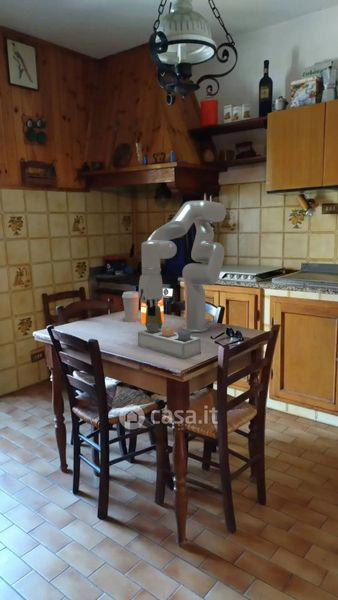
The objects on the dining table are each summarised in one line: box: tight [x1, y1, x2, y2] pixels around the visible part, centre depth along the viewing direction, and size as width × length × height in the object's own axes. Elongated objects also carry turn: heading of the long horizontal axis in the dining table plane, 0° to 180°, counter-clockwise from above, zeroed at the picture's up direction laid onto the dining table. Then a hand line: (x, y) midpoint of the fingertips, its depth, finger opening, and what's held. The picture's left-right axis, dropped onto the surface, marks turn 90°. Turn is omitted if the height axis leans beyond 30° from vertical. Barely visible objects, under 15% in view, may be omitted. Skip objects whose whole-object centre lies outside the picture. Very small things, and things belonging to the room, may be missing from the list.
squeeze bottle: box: [144, 303, 163, 329], centre depth 200 cm, size 8×8×18 cm
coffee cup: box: [121, 290, 140, 323], centre depth 224 cm, size 10×10×15 cm
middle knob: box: [161, 326, 175, 338], centre depth 172 cm, size 5×5×5 cm
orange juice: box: [140, 295, 165, 325], centre depth 218 cm, size 8×9×20 cm
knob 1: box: [146, 323, 159, 334], centre depth 179 cm, size 5×5×5 cm
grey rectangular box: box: [137, 328, 202, 360], centre depth 173 cm, size 10×26×6 cm, turn 45°
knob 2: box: [177, 329, 191, 342], centre depth 166 cm, size 5×5×5 cm
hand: (151, 315), depth 177 cm, fingers closed
